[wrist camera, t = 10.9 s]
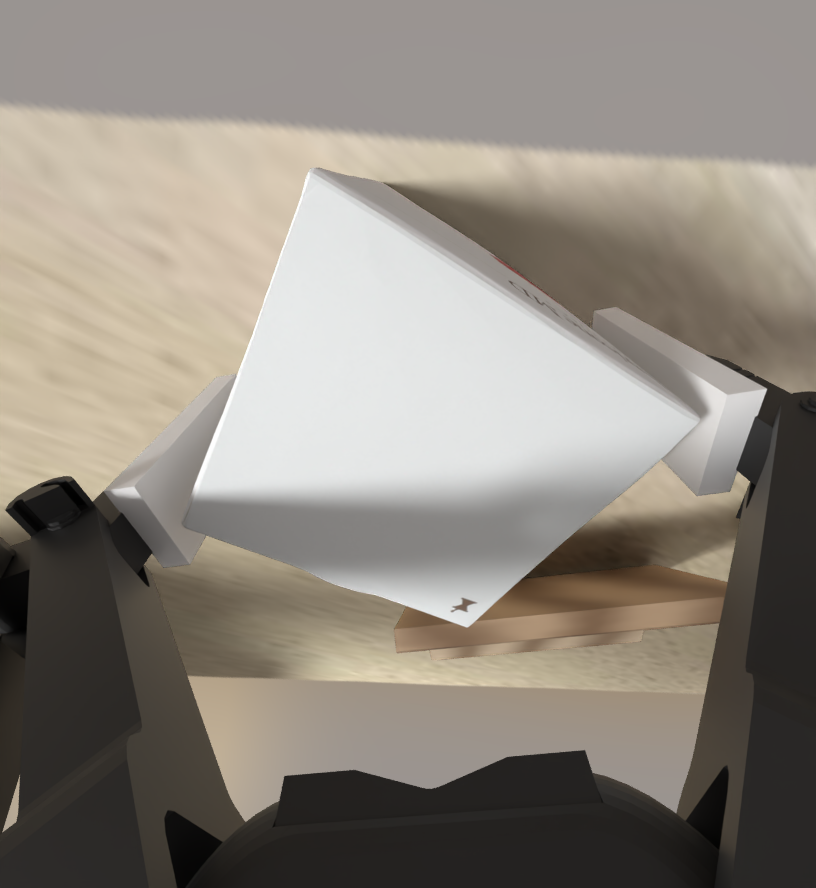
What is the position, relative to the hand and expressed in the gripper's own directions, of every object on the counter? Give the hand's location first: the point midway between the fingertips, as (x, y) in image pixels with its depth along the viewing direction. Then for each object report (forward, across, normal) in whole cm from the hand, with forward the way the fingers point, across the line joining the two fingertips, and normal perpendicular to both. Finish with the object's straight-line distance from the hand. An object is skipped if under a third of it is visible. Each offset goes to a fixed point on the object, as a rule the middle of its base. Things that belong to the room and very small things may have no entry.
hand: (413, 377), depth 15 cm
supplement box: (+8, 0, 0) cm, 8 cm away
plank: (+4, -6, +19) cm, 20 cm away
